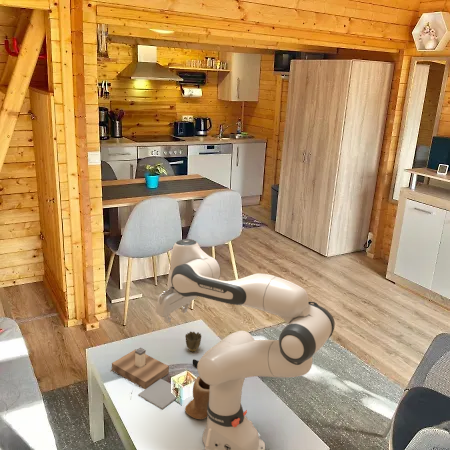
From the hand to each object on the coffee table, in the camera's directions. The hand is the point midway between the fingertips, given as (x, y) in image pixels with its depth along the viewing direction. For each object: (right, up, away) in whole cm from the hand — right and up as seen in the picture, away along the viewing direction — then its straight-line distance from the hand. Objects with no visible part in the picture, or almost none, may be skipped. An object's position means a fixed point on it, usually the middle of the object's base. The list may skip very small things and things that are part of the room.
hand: (175, 316), depth 164 cm
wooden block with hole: (-19, -30, +33) cm, 49 cm away
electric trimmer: (+10, -31, +36) cm, 49 cm away
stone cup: (+10, -38, +13) cm, 42 cm away
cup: (+3, -26, +51) cm, 57 cm away
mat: (-8, -35, +20) cm, 41 cm away
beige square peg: (-19, -30, +33) cm, 49 cm away
